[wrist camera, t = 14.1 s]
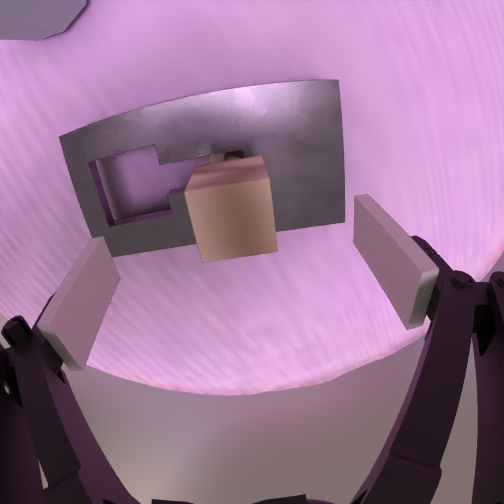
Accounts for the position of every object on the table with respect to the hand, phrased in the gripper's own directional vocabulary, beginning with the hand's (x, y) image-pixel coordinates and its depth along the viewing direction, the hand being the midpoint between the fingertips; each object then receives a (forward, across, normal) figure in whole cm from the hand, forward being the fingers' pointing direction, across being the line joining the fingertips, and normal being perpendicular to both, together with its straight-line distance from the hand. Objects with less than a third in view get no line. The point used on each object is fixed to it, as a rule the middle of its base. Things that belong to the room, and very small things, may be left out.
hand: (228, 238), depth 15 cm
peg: (+19, 0, 0) cm, 19 cm away
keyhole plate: (+19, -2, 0) cm, 19 cm away
